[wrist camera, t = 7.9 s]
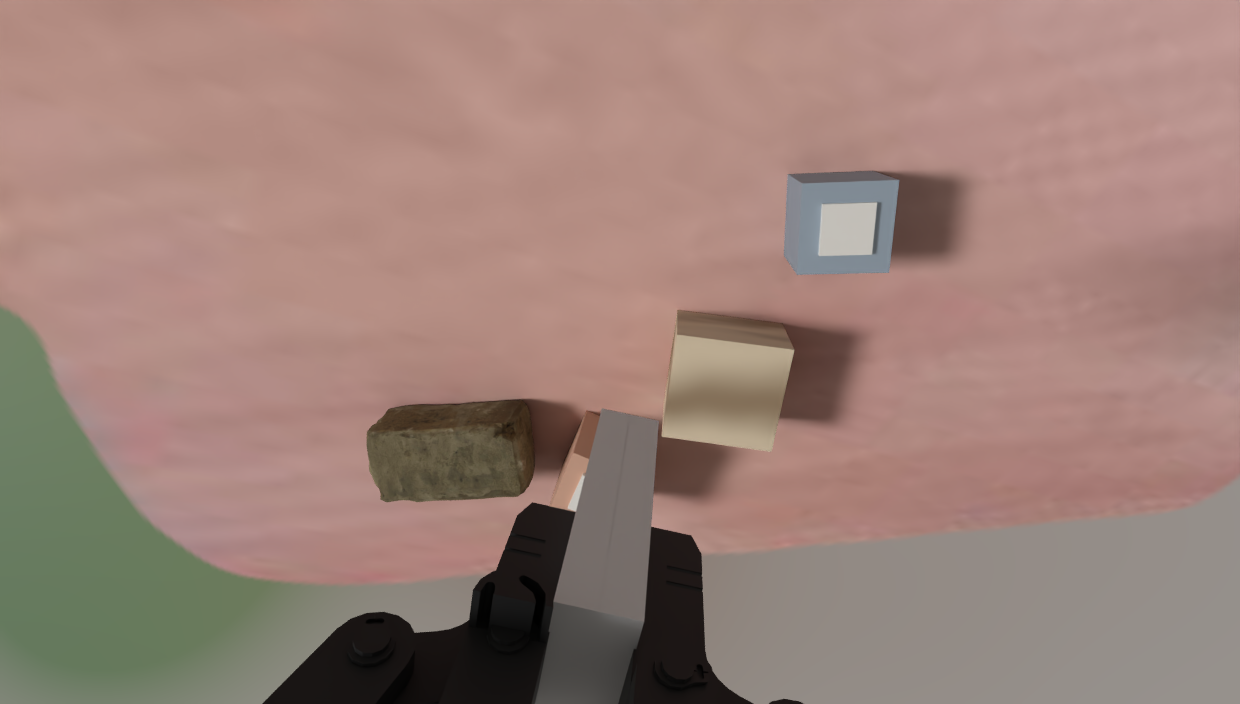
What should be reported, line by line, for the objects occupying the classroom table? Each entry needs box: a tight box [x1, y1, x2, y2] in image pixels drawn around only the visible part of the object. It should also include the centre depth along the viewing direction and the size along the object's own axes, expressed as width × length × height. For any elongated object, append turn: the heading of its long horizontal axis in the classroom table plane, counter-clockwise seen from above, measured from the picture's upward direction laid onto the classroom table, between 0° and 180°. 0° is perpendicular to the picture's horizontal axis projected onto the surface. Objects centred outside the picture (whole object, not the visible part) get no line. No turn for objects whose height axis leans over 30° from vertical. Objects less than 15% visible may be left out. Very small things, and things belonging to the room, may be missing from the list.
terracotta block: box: [549, 411, 600, 512], centre depth 43 cm, size 5×5×6 cm
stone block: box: [367, 400, 535, 502], centre depth 45 cm, size 6×12×5 cm, turn 97°
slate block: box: [784, 171, 899, 275], centre depth 36 cm, size 5×5×5 cm
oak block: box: [662, 310, 794, 452], centre depth 41 cm, size 7×7×5 cm
